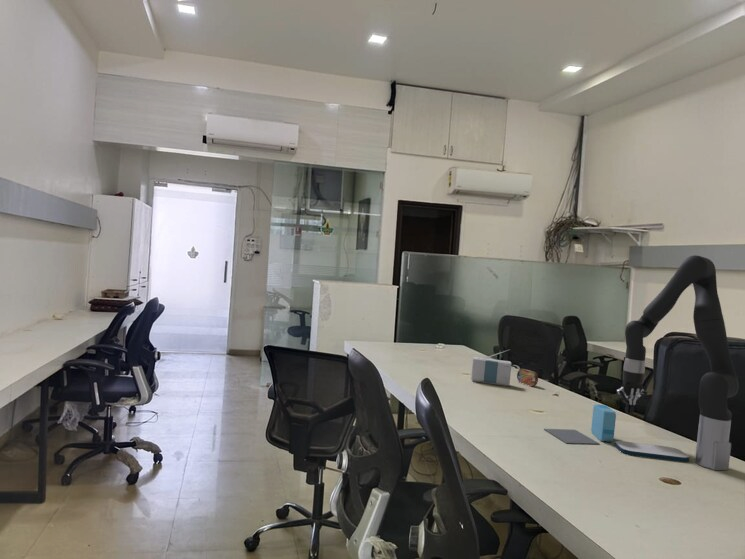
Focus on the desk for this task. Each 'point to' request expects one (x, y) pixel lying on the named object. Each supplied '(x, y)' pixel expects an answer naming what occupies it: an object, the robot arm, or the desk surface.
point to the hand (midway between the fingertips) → (629, 413)
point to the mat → (571, 436)
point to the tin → (527, 377)
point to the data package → (603, 423)
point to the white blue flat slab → (651, 451)
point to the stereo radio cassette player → (491, 371)
